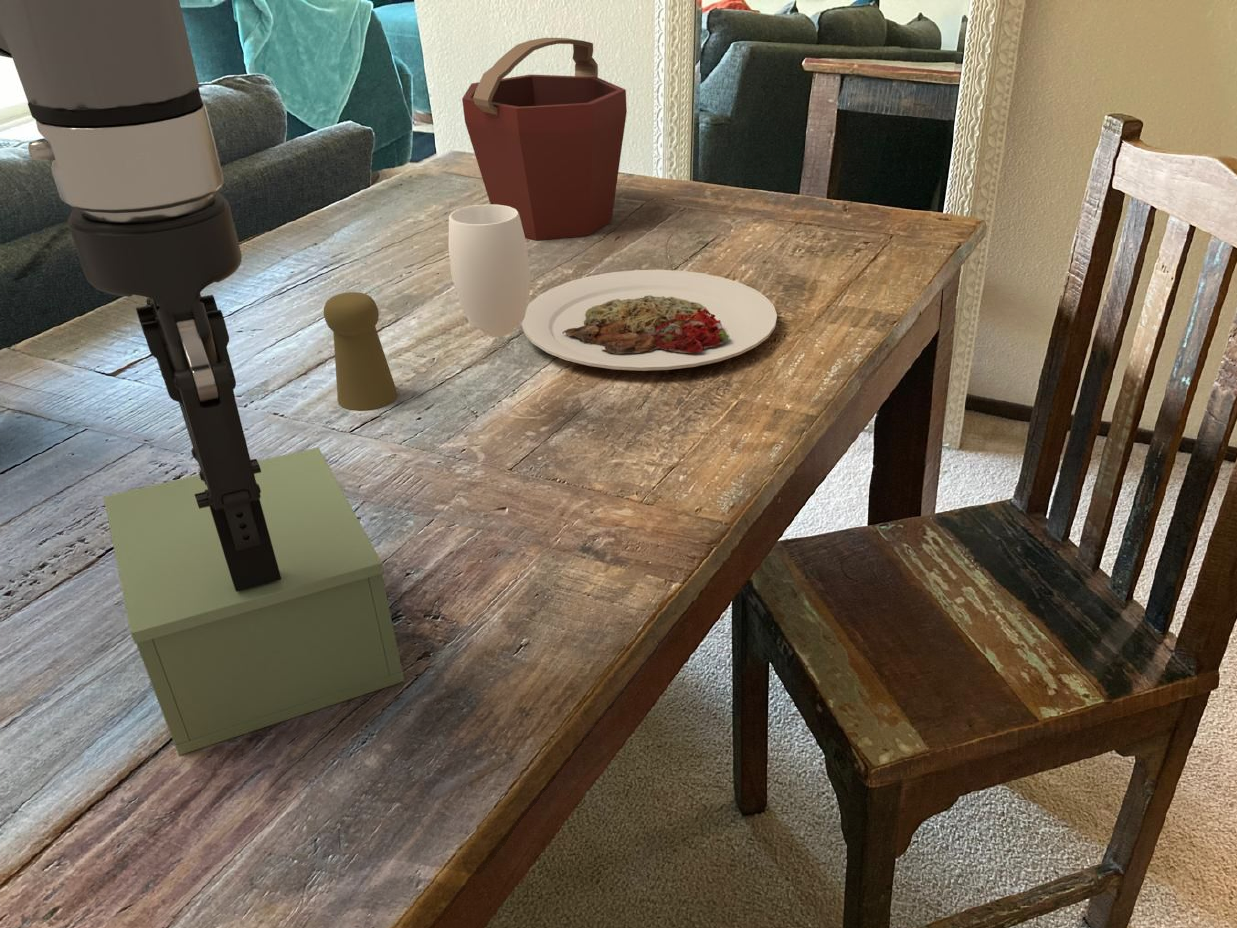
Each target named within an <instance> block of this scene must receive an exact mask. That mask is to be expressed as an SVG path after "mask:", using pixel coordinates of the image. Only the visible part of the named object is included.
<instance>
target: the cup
mask: <svg viewBox="0 0 1237 928" xmlns="http://www.w3.org/2000/svg"><path fill="white" fill-rule="evenodd" d="M526 239H527V238H525V235H524V231H523V227H522V224H521V220H520V216H519V213H518V212H517V210H516V209H514V208H512V207H509V206H503V205H492V204H490V203H489V204H488V203H487V204H474V205H469V206H463V207H460V208H458V209H455V210H454V211H452V212H451V213H450V214H449V216H448V244H447V245H448V246H447V247H448V256H449V257H448V258H449V265H450V274H451V275H450V276H451V279H452V283H453V286H454V289H455V293H456V296H457V300H458V302H459V305H460V307H461V309H462V311H463V313H464V315H465V317H466V319H467V322H468V324H469V325H470V326H471V327H473V328H475V329H478V330H479V331H480V332H481V333H483V334H484V335H485V336H488V337H492V338H500V337H505V336H508V335H510V334H511V333H513V331H514V330H515V328H516V327H517V326H519V325H521V323H522V322H523V320H524V318H525V314H526V309H527V306H528V305H529V301H530V287H531V265H530V258H529V251H528V244H527V240H526Z"/></svg>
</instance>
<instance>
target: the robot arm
mask: <svg viewBox="0 0 1237 928" xmlns="http://www.w3.org/2000/svg"><path fill="white" fill-rule="evenodd" d="M183 15H184V14H183V10H182V6H181V2H180V0H0V57H4V58H9V59H12V61H13V64H14V67H15V70H16V72H17V75H18V78H19V81H20V83H21V86H22V89H23V92H24V95H25V98H26V101H27V107H28V110H29V112H30V115H31V117H32V118H33V119H34V120H35V123H36V128H37V132H39V134H40V135H41V136H42V137H43V138H39V139H36V140H33V141H29V142H28V146H27V151H28V154H29V156H30V158H31V159H33V160H35V161H37V162H47V161H48V162H49V161H51V167H50V170H51V174H52V177H53V180H54V183H55V186H56V189H57V191H58V195H59V198H60V200H61V201H62V202H63V203H64V204H67V205H68V206H70V207H72V208H73V209H72V210H71V211H70V214H69V216H68V217H67V220H66V221H67V222H66V223H67V226H68V229H69V232H70V235H71V238H72V240H73V241H72V242H73V244H74V247H75V249H76V253H77V256H78V259H79V262H80V265H81V267H82V271H83V274H84V276H85V279H86V281H87V282H88V283H89V284H90V285H91V286H92V287H93V288H95V289H96V290H98V291H100V292H103V293H106V294H109V295H112V296H117V297H124V298H125V297H128V298H131V297H132V296H137V297H145V298H146V300H145V302H146V304H145V305H143V306H136V307H135V312H136V315H137V317H138V320H139V323H140V326H141V330H142V333H143V336H144V337H145V340H146V344H147V347H148V350H149V353H150V354H151V356H152V357H154V358H155V359H156V362H157V364H158V368H159V371H160V374H161V377H162V379H163V381H164V382H163V383H164V384H165V388H166V391H167V394H168V396H169V398H170V399H171V400H173V401H175V402H178V404H179V407H180V411H181V414H182V417H183V420H184V424H185V426H186V427H185V428H186V430H187V433H188V436H189V440H190V442H191V446H192V448H191V450H190V452H191V455H192V458H193V459H194V460H195V461H196V462H197V463H198V466H199V468H200V470H199V471H198V475H200V478H201V480H203V481H204V482H205V485H207V488H208V490H205V492H201V493H197V494H195V498H196V501H197V504H198V507H199V509H201V508H205V507H210V510H211V513H212V516H213V520H214V523H215V526H216V529H217V533H218V536H219V539H220V543H221V546H222V549H223V552H224V556H225V559H226V562H227V565H228V569H229V572H230V575H231V579H232V582H233V584H234V587H235V590H236V592H237V591H241V590H244V589H248V588H251V587H255V586H259V585H262V584H266V583H269V582H273V581H277V580H280V579H281V576H280V572H279V568H278V565H277V561H276V557H275V554H274V550H273V546H272V543H271V539H270V536H269V532H268V528H267V525H266V521H265V517H264V514H263V510H262V506H261V503H260V497H261V496H260V493H261V490H260V487H259V484H257V483H256V480H255V476H254V474H256V473H261V469H260V466H259V464H258V461H259V460H258V459H257V458H253V459H251V456H250V452H249V449H248V446H247V441H246V436H245V433H244V428H243V425H242V420H241V417H240V411H239V409H238V404H237V401H236V396H235V391H234V390H235V388H236V386H237V381H236V376H235V373H234V370H233V366H232V363H231V358H230V355H229V351H228V344H229V342H230V335H229V332H228V328H227V324H226V322H225V318H224V315H223V311H222V309H218V306H217V302H216V299H215V297H214V294H208V295H207V294H206V295H202V293H201V292H202V291H203V290H204V289H205V288H207V287H208V286H210V285H211V284H214V283H220V282H222V281H224V280H226V279H227V278H230V276H232V275H234V274H235V272H237V270H238V269H239V268H240V266H241V264H242V259H243V256H242V249H241V247H240V243H239V238H238V235H237V230H236V226H235V223H234V219H233V215H232V210H231V206H230V202H229V200H228V199H227V198H225V197H224V196H223V195H222V194H221V193H219V192H218V190H219V189H221V187H222V186H223V184H224V182H225V181H224V180H225V178H224V174H223V169H222V165H221V161H220V157H219V153H218V150H217V145H216V141H215V137H214V133H213V129H212V126H211V121H210V117H209V113H208V109H207V105H206V102H205V101H204V100H203V99H202V95H201V91H200V84H199V80H198V74H197V71H196V67H195V63H194V58H193V53H192V49H191V45H190V40H189V37H188V33H187V29H186V24H185V20H184V16H183Z"/></svg>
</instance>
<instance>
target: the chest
mask: <svg viewBox="0 0 1237 928" xmlns="http://www.w3.org/2000/svg"><path fill="white" fill-rule="evenodd" d="M385 586H386V585H385V581H384V576H383V573H382V574H379V575H375V576H372V577H368V578H365V579H361V580H358V581H354V582H351V583H347V584H344V585H340V586H337V587H333V588H330V589H326V590H323V591H319V592H316V593H312V594H309V595H305V596H302V597H298V598H295V599H291V600H288V601H284V602H281V603H277V604H274V605H270V606H267V607H263V608H260V609H256V610H252V611H249V612H245V613H242V614H238V615H235V616H231V617H228V618H224V619H221V620H217V621H214V622H210V623H207V624H203V625H200V626H196V627H193V628H189V629H186V630H182V631H179V632H175V633H172V634H168V635H165V636H161V637H158V638H154V639H151V640H147V641H144V642H140V643H137V644H136V647H137V650H138V652H139V654H140V657H141V660H142V662H143V663H142V664H143V665H144V667H145V670H146V673H147V676H148V678H149V681H150V683H151V686H152V689H153V692H154V694H155V697H156V700H157V702H158V705H159V707H160V710H161V712H162V715H163V718H164V720H165V723H166V725H167V728H168V731H169V734H170V737H171V739H172V742H173V744H174V748H175V749H176V753H177V755H178V756H183V755H185V754H188V753H191V752H194V751H198V750H201V749H203V748H206V747H209V746H213V745H215V744H218V743H222V742H224V741H227V740H230V739H231V740H232V739H233V738H236V737H239V736H242V735H246V734H248V733H252V732H254V731H258V730H261V729H265V728H266V727H270V726H273V725H276V724H279V723H282V722H286V721H288V720H291V719H294V718H297V717H300V716H303V715H307V714H311V713H312V712H315V711H318V710H322V709H324V708H327V707H332V706H334V705H337V704H340V703H343V702H346V701H348V700H352V699H355V698H358V697H361V696H364V695H367V694H371V693H374V692H376V691H381V690H382V689H385V688H388V687H392V686H395V685H397V684H401V683H404V682H405V677H404V672H403V667H402V662H401V658H400V657H401V656H400V653H399V648H398V643H397V638H396V634H395V629H394V625H393V620H392V615H391V611H390V610H391V609H390V606H389V601H388V596H387V591H386V587H385Z"/></svg>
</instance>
